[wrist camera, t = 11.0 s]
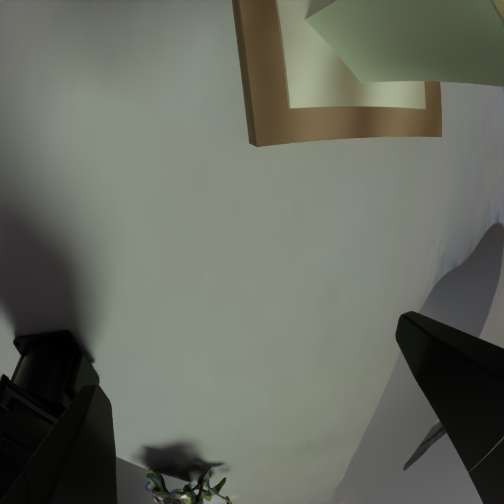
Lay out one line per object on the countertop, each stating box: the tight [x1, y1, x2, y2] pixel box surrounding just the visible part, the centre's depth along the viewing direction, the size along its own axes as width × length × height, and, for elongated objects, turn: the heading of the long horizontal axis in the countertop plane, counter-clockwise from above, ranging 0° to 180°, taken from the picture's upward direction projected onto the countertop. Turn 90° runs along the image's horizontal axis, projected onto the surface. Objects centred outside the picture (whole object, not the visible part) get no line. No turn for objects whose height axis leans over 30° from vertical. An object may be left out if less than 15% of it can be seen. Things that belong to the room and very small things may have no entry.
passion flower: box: [145, 467, 232, 504], centre depth 30 cm, size 11×11×12 cm
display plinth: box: [232, 0, 442, 147], centre depth 15 cm, size 14×14×2 cm
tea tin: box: [306, 0, 504, 87], centre depth 8 cm, size 5×5×12 cm
